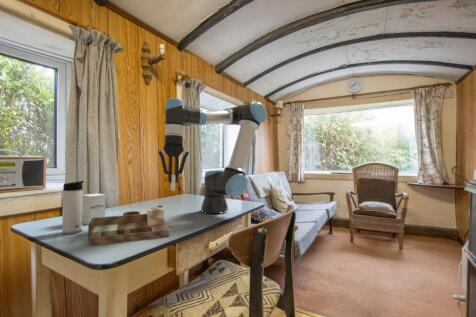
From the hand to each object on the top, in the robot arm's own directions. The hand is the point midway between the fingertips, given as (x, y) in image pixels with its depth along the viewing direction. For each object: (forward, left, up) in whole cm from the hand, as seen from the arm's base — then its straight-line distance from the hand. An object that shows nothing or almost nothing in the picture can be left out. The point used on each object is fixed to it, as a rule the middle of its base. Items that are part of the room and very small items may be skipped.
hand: (172, 190), depth 101 cm
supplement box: (+32, -22, -16) cm, 42 cm away
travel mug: (+37, -8, -16) cm, 41 cm away
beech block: (+7, 0, -14) cm, 15 cm away
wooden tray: (+16, +3, -16) cm, 23 cm away
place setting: (+12, -15, -17) cm, 25 cm away
